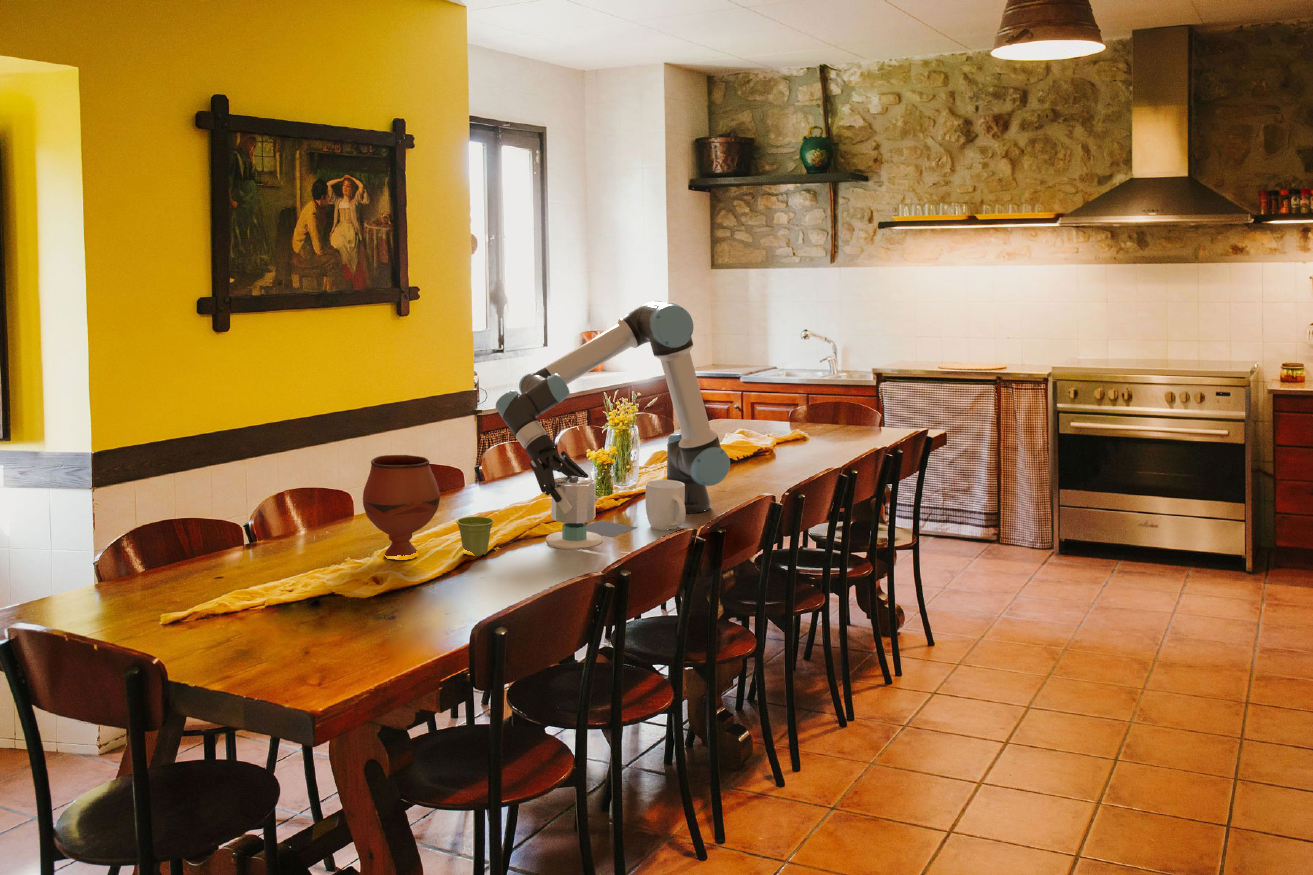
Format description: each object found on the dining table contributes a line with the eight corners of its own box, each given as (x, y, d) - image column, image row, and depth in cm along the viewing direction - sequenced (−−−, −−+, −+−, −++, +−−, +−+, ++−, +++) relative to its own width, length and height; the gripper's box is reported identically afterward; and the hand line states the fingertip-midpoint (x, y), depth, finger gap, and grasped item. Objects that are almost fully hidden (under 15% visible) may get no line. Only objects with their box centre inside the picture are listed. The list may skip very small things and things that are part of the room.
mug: (699, 534, 321) (700, 488, 318) (666, 539, 315) (667, 492, 312) (669, 522, 333) (670, 478, 331) (637, 526, 327) (638, 481, 325)
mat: (599, 522, 331) (599, 520, 331) (638, 529, 324) (638, 527, 324) (573, 531, 320) (573, 529, 320) (612, 539, 313) (612, 537, 313)
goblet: (414, 570, 280) (413, 470, 276) (347, 561, 286) (344, 462, 282) (454, 551, 298) (453, 456, 293) (390, 542, 304) (388, 449, 300)
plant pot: (458, 548, 300) (458, 516, 299) (494, 548, 301) (494, 516, 300) (455, 558, 291) (454, 525, 290) (492, 558, 292) (492, 525, 291)
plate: (568, 531, 319) (568, 515, 319) (613, 540, 312) (613, 523, 311) (534, 543, 307) (535, 526, 306) (581, 552, 299) (581, 535, 298)
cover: (568, 510, 316) (569, 470, 314) (602, 517, 310) (603, 476, 308) (543, 518, 306) (544, 477, 304) (578, 525, 300) (578, 483, 298)
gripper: (554, 444, 323) (598, 506, 318) (500, 456, 303) (546, 523, 298) (570, 427, 319) (615, 490, 314) (516, 439, 299) (563, 506, 294)
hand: (581, 506), depth 306 cm, fingers closed on cover, 11 cm apart
